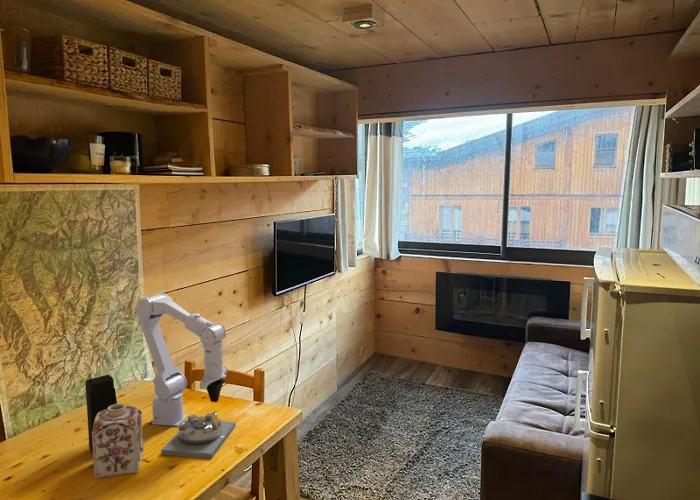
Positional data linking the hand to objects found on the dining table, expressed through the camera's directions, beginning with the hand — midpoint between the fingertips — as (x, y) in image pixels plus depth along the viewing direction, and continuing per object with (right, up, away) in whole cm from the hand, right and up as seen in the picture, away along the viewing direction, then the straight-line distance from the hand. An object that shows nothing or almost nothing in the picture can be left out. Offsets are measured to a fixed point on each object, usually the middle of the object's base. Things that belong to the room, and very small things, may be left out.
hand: (214, 401), depth 166 cm
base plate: (-3, -11, -5) cm, 12 cm away
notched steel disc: (-3, -9, -5) cm, 11 cm away
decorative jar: (-22, -13, -19) cm, 32 cm away
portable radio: (-31, -12, -10) cm, 35 cm away
